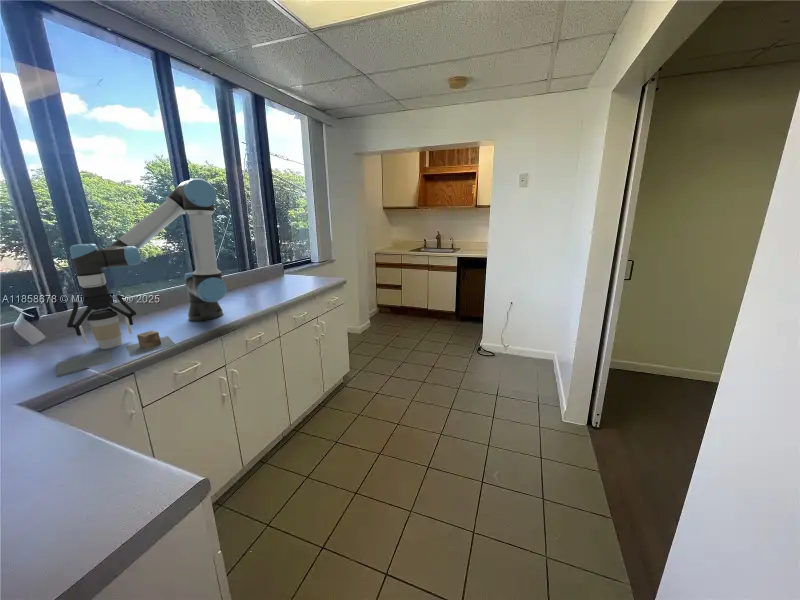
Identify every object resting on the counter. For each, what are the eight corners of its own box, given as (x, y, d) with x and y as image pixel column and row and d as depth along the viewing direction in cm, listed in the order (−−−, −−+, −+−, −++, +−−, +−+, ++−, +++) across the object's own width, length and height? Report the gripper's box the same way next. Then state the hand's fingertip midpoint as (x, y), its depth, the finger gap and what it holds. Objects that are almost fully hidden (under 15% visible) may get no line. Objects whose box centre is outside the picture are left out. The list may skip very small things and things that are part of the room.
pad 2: (168, 337, 138) (167, 336, 138) (176, 346, 128) (175, 344, 128) (126, 347, 129) (125, 346, 128) (131, 357, 119) (130, 356, 119)
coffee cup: (108, 351, 125) (97, 314, 121) (90, 350, 127) (78, 313, 123) (131, 342, 133) (122, 307, 129) (114, 341, 135) (104, 307, 131)
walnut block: (153, 342, 132) (150, 330, 130) (161, 343, 130) (158, 332, 128) (140, 346, 127) (136, 334, 126) (147, 348, 125) (144, 336, 124)
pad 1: (109, 351, 125) (109, 350, 125) (113, 362, 116) (112, 360, 115) (58, 363, 116) (57, 362, 116) (57, 376, 106) (56, 375, 106)
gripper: (133, 278, 134) (146, 327, 140) (46, 290, 117) (64, 344, 123) (136, 281, 129) (149, 331, 135) (46, 293, 112) (64, 350, 118)
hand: (108, 337), depth 129 cm, fingers open, 13 cm apart
